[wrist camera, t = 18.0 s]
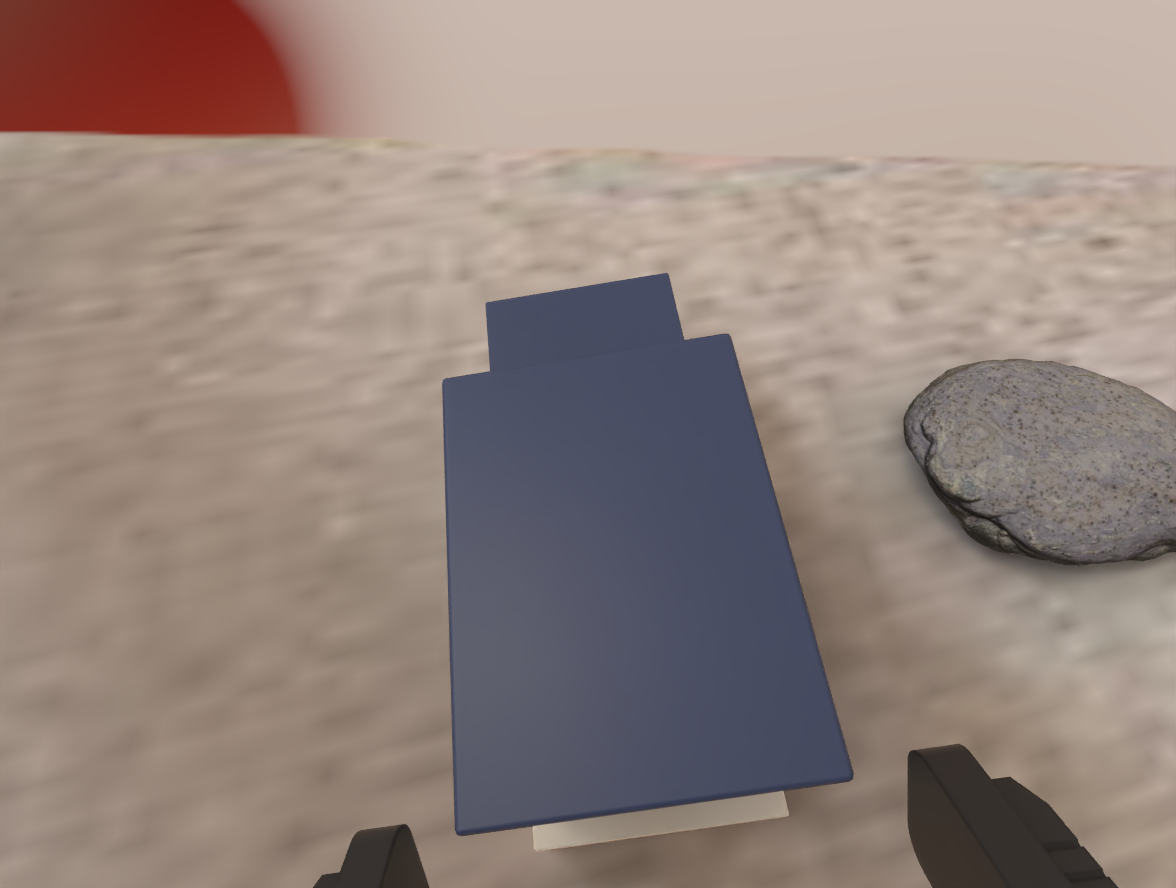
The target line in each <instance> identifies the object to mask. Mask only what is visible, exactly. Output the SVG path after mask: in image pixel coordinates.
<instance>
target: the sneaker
mask: <svg viewBox="0 0 1176 888" xmlns="http://www.w3.org/2000/svg"><path fill="white" fill-rule="evenodd" d="M486 317H487V332H488V346H489V360H490V371H489V372H483V373H477V374H471V375H465V376H458V377H452V378H446V379H444V380H443V383H442V393H443V428H444V463H445V498H446V533H447V569H448V604H449V639H450V674H451V709H452V744H453V779H454V814H455V831H456V833H457V835H459V836H467V835H474V834H481V833H488V832H496V831H503V830H510V829H517V828H524V827H531V826H532V831H533V844H534V850H535V851H536V852H538V851H546V850H553V849H560V848H567V847H574V846H581V845H588V844H596V843H603V842H610V841H617V840H624V839H631V838H639V837H646V836H653V835H660V834H667V833H674V832H681V831H689V830H696V829H703V828H710V827H717V826H724V825H731V824H739V823H746V822H753V821H760V820H767V819H774V818H782V817H787V816H789V812H788V808H787V803H786V799H785V795H784V791H786V790H794V789H801V788H808V787H815V786H822V785H829V784H836V783H843V782H849V781H851V780H852V779H853V770H852V766H851V762H850V759H849V755H848V752H847V748H846V745H845V741H844V738H843V734H842V730H841V727H840V723H839V720H838V716H837V713H836V709H835V705H834V702H833V698H832V695H831V691H830V688H829V684H828V681H827V677H826V673H825V670H824V666H823V663H822V659H821V656H820V652H819V649H818V645H817V641H816V638H815V634H814V631H813V627H812V624H811V620H810V617H809V613H808V609H807V606H806V602H805V599H804V595H803V592H802V588H801V585H800V581H799V577H798V574H797V570H796V567H795V563H794V560H793V556H792V553H791V549H790V545H789V542H788V538H787V535H786V531H785V528H784V524H783V521H782V517H781V513H780V510H779V506H778V503H777V499H776V496H775V492H774V488H773V485H772V481H771V478H770V474H769V471H768V467H767V464H766V460H765V456H764V453H763V449H762V446H761V442H760V439H759V435H758V432H757V428H756V424H755V421H754V417H753V414H752V410H751V407H750V403H749V400H748V396H747V392H746V389H745V385H744V382H743V378H742V375H741V371H740V368H739V364H738V360H737V357H736V353H735V350H734V346H733V343H732V339H731V337H730V335H729V334H720V335H714V336H707V337H701V338H695V339H689V340H684V337H683V333H682V329H681V324H680V320H679V316H678V312H677V308H676V304H675V299H674V295H673V291H672V287H671V283H670V279H669V275H668V273H664V274H658V275H651V276H645V277H639V278H633V279H627V280H621V281H615V282H609V283H602V284H596V285H590V286H584V287H578V288H572V289H566V290H560V291H554V292H547V293H541V294H535V295H529V296H523V297H517V298H511V299H505V300H499V301H492V302H487V303H486Z"/></svg>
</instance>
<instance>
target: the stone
mask: <svg viewBox="0 0 1176 888" xmlns="http://www.w3.org/2000/svg"><path fill="white" fill-rule="evenodd" d="M904 435H905V440H906V444H907V446H908V448H909V450H910V451H911V452H912V453H913V455H914V457H915V459H916V460H917V462H918V463H919V464H920V466H921V468H922V470H923V472H924V473H925V475H926V476H927V479H928V481H929V484H930V485H931V487H932V489H933V490H934V492H935V493H936V495H937V496H938V498H939V499H940V500H941V501H942V502H943V503H944V504H945V505H946V506H947V507H948V509H949V510H950V511H951V513H952V514H953V515H954V516H955V517H956V518H957V519H958V521H959V522H960V524H961V526H962V527H963V529H964V530H965V531H966V533H967V534H968V535H969V536H970V537H972V538H973V539H974V540H975V541H977V542H979V543H980V544H982V545H985V546H987V547H989V548H991V549H994V550H996V551H1000V552H1006V553H1017V554H1021V555H1024V556H1027V557H1031V558H1036V559H1043V560H1049V561H1052V562H1055V563H1059V564H1064V565H1079V566H1081V565H1087V564H1090V563H1106V562H1117V561H1123V560H1137V561H1144V560H1148V559H1153V558H1156V557H1158V556H1161V555H1163V554H1165V553H1168V552H1176V411H1174V410H1172V409H1171V408H1169V407H1168V406H1166V405H1165V404H1163V403H1162V402H1161V401H1159V400H1157V399H1156V398H1154V397H1152V396H1150V395H1149V394H1147V393H1145V392H1143V391H1142V390H1140V389H1138V388H1136V387H1133V386H1129V385H1126V384H1124V383H1122V382H1120V381H1117V380H1114V379H1111V378H1108V377H1105V376H1102V375H1099V374H1097V373H1094V372H1091V371H1088V370H1085V369H1082V368H1079V367H1076V366H1067V365H1063V364H1060V363H1056V362H1052V361H1032V360H1026V359H1008V360H1002V361H1001V360H990V361H983V362H977V363H973V364H968V365H963V366H959V367H956V368H953V369H950V370H947V371H946V372H945V373H944V374H942V375H941V376H939V377H938V378H937V379H935V380H934V381H933V382H931V383H930V385H929V386H928V387H927V388H926V389H925V390H923V391H922V392H921V393H920V394H919V395H917V397H916V398H915V399H914V400H913V402H912V403H911V404H910V406H909V408H908V410H907V412H906V414H905V416H904Z"/></svg>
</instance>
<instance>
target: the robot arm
mask: <svg viewBox="0 0 1176 888" xmlns="http://www.w3.org/2000/svg"><path fill="white" fill-rule="evenodd" d="M908 829H909V834H910V838H911V842H912V845H913V848H914V851H915V854H916V856H917V859H918V861H919V863H920V865H921V867H922V869H923V871H924V873H925V875H926V877H927V878H928V880H929V882H930V884H931V886H932V887H933V888H1118V887H1117V886H1116V885H1115V883H1114V882H1113V881H1112V880H1111V879H1110V877H1106V876H1105V875H1104V873H1103V869H1102V868H1101V867H1100V865H1099V864H1098V863H1097V862H1096V861H1095V859H1094V858H1093V857H1092V856H1091V855H1090V853H1089V852H1088V851H1087V850H1086V849H1085V847H1084V846H1083V847H1081V846H1080V845H1079V843H1078V839H1077V838H1076V837H1075V835H1074V834H1073V833H1072V832H1071V831H1070V829H1069V828H1068V827H1067V826H1066V825H1065V824H1064V822H1063V821H1062V820H1061V819H1060V818H1059V816H1058V815H1057V814H1056V813H1055V812H1054V810H1053V809H1052V808H1051V807H1050V806H1049V804H1047V803H1046V802H1045V801H1043V800H1042V799H1040V798H1039V797H1038V796H1036V795H1035V794H1033V793H1032V792H1031V791H1029V790H1028V789H1026V788H1025V787H1024V786H1022V785H1021V784H1019V783H1018V782H1017V781H1015V780H1014V779H1012V778H1011V777H1005V778H998V779H990V777H989V776H988V775H987V773H986V772H985V771H984V769H983V768H982V767H981V766H980V764H979V763H978V762H977V760H976V759H975V758H974V756H973V755H972V754H971V753H970V752H969V750H968V749H966V748H965V747H964V746H963V745H960V744H955V745H948V746H940V747H933V748H926V749H919V750H912V751H910V753H909V755H908ZM313 888H429V885H428V882H427V879H426V876H425V873H424V870H423V867H422V864H421V861H420V858H419V855H418V852H417V848H416V845H415V842H414V839H413V836H412V833H411V831H410V828H409V827H408V826H407V825H406V824H402V825H395V826H388V827H381V828H374V829H367V830H360V831H358V832H357V833H356V834H355V835H354V837H353V839H352V841H351V843H350V846H349V849H348V851H347V854H346V857H345V860H344V862H343V865H342V868H341V871H340V872H339V873H332V874H325V875H322V876H321V877H320V879H319V880H318V881H317V883H316V884H315V885H314V887H313Z"/></svg>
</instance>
